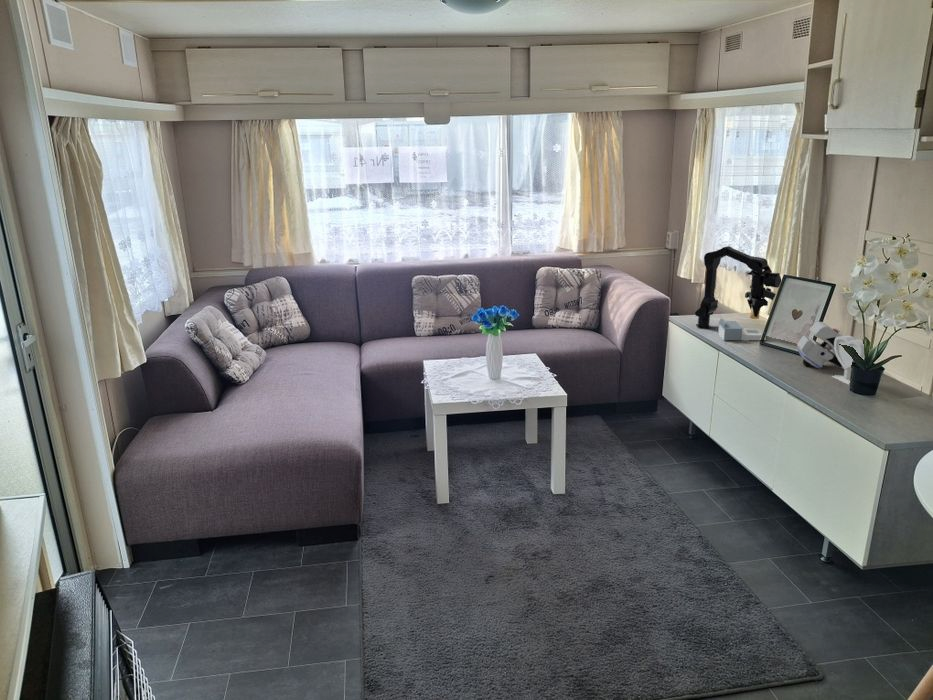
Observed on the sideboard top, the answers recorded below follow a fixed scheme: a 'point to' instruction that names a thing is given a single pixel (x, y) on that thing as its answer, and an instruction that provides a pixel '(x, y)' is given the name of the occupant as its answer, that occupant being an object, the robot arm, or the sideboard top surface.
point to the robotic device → (819, 346)
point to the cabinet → (731, 330)
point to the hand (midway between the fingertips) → (754, 315)
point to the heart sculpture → (847, 355)
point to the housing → (745, 333)
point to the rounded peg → (753, 314)
